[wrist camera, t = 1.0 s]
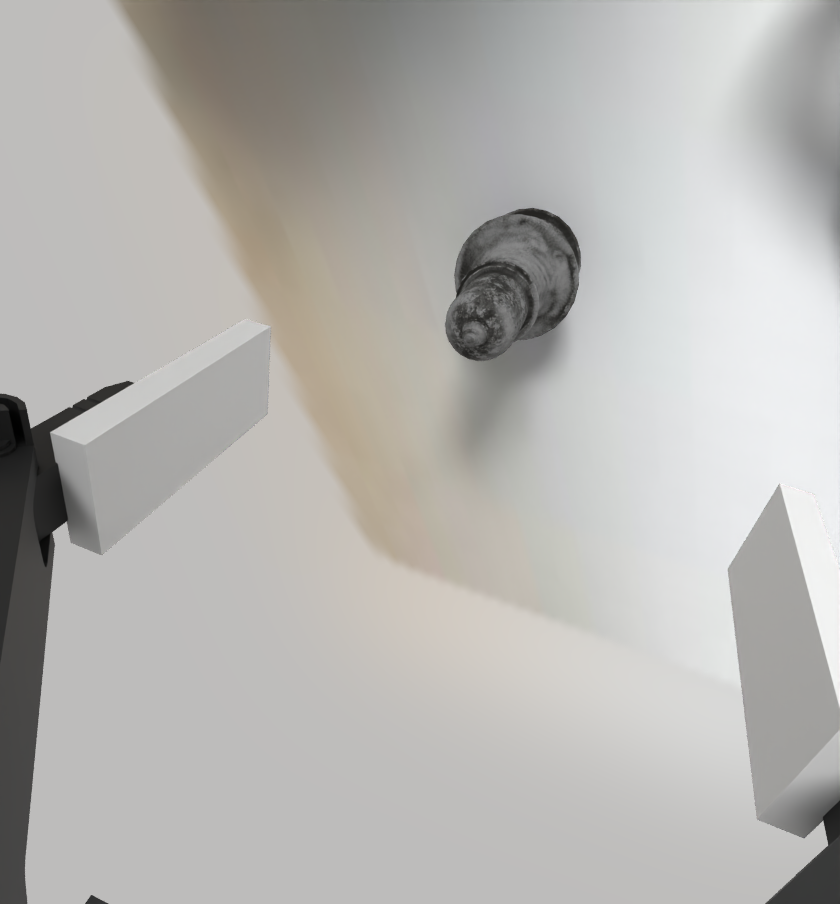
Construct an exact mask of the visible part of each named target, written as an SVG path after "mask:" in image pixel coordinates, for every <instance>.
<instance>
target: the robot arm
mask: <svg viewBox="0 0 840 904" xmlns="http://www.w3.org/2000/svg"><path fill="white" fill-rule="evenodd" d="M270 334H271V326H268V325H265V324H262V323H258V322H255V321H252V320H249V319H244V320H242V321H240V322H239V323H237V324H235V325H234V326H232V327H230V328H228V329H227V330H225V331H223V332H221V333H220V334H218V335H216V336H215V337H213V338H211V339H209V340H208V341H206V342H204V343H203V344H201V345H199V346H197V347H196V348H194V349H192V350H191V351H189V352H187V353H185V354H184V355H182V356H180V357H179V358H177V359H175V360H173V361H172V362H170V363H168V364H167V365H165V366H163V367H161V368H160V369H158V370H156V371H155V372H153V373H151V374H149V375H148V376H146V377H144V378H143V379H141V380H139V381H137V382H136V383H133V382H129V381H126V382H123V383H119V384H115V385H112V386H108V387H105V388H103V389H101V390H99V391H97V392H96V393H94V394H92V395H90V396H89V397H87V400H85V399H83V400H81V401H80V402H78V403H76V404H74V405H73V408H67V409H65V410H64V411H62V412H60V413H58V414H57V415H55V416H53V417H51V418H49V419H48V420H46V421H44V422H42V423H40V424H39V425H37V426H35V427H33V428H30V423H29V419H28V414H27V409H26V405H25V402H23V401H22V400H20V399H19V398H18V397H14V396H10V395H7V394H0V904H27V895H26V886H25V855H26V845H27V834H28V824H29V813H30V802H31V792H32V781H33V770H34V760H35V759H34V758H35V749H36V738H37V728H38V717H39V706H40V696H41V685H42V674H43V664H44V653H45V652H44V651H45V643H46V632H47V621H48V611H49V599H50V589H51V578H52V568H53V556H54V547H55V543H54V538H53V534H52V532H53V531H54V530H56V529H57V528H58V527H60V526H61V525H62V524H63V523H65V522H66V521H67V524H68V530H69V535H70V540H71V543H73V544H76V545H78V546H80V547H83V548H85V549H88V550H90V551H93V552H95V553H98V554H100V555H103V554H104V553H105V552H106V551H107V550H109V549H110V548H111V547H112V546H113V545H114V544H116V543H117V542H118V541H119V540H120V539H121V538H123V537H124V536H125V535H126V534H127V533H129V532H130V531H131V530H132V529H133V528H134V527H135V526H137V525H138V524H139V523H140V522H141V521H143V520H144V519H145V518H146V517H147V516H148V515H150V514H151V513H152V512H153V511H154V510H155V509H157V508H158V507H159V506H160V505H161V504H163V503H164V502H165V501H166V500H167V499H168V498H170V497H171V496H172V495H173V494H174V493H175V492H176V491H178V490H179V489H180V488H181V487H182V486H183V485H185V484H186V483H187V482H188V481H190V479H192V478H193V477H194V476H195V475H197V474H198V473H199V472H200V471H201V470H202V469H203V468H205V467H206V466H207V465H208V464H209V463H211V462H212V461H213V460H214V459H215V458H217V457H218V456H219V455H220V454H221V453H222V452H224V450H226V449H227V448H228V447H229V446H231V445H232V444H233V443H234V442H235V441H236V440H238V439H239V438H240V437H241V436H242V435H243V434H245V433H246V432H247V431H248V430H249V429H251V428H252V427H253V426H254V425H255V424H256V423H257V422H259V421H260V420H261V419H262V418H263V417H265V416H266V415H267V413H268V386H269V360H270ZM728 576H729V585H730V593H731V602H732V610H733V619H734V627H735V636H736V644H737V653H738V661H739V670H740V678H741V687H742V695H743V704H744V713H745V721H746V729H747V738H748V747H749V754H750V764H751V772H752V781H753V788H754V797H755V806H756V815H757V819H758V820H760V821H762V822H765V823H767V824H770V825H772V826H775V827H777V828H780V829H782V830H785V831H787V832H790V833H792V834H794V835H797V836H799V837H802V838H805V837H806V836H807V835H808V834H809V833H810V832H812V831H813V830H814V829H815V828H816V827H817V826H818V825H819V824H820V823H821V822H822V821H824V826H825V830H826V836H827V840H828V846H827V847H826V848H825V849H824V850H823V851H822V852H821V853H820V854H818V855H817V856H816V857H815V858H814V859H813V860H812V861H811V862H810V863H809V864H807V865H806V866H805V867H804V868H803V869H802V870H801V871H800V872H799V873H798V874H796V876H795V877H794V878H792V879H791V880H790V881H789V882H788V883H787V884H786V885H785V886H784V887H783V888H782V889H781V890H779V891H778V893H776V894H775V895H774V896H773V897H772V898H771V899H770V900H769V901H768V902H767V903H765V904H840V567H839V564H838V561H837V558H836V555H835V553H834V550H833V547H832V544H831V541H830V538H829V535H828V532H827V529H826V526H825V523H824V521H823V518H822V515H821V512H820V509H819V506H818V503H817V500H816V497H815V494H812V493H809V492H806V491H802V490H799V489H796V488H793V487H790V486H786V485H783V484H779V485H778V487H777V489H776V490H775V492H774V494H773V495H772V497H771V499H770V500H769V502H768V503H767V505H766V507H765V508H764V510H763V512H762V513H761V515H760V517H759V518H758V520H757V522H756V523H755V525H754V527H753V528H752V530H751V532H750V533H749V535H748V536H747V538H746V540H745V541H744V543H743V545H742V546H741V548H740V550H739V551H738V553H737V555H736V556H735V558H734V560H733V561H732V563H731V565H730V566H729V568H728ZM85 904H108V903H106V902H104V901H102V900H100V899H98V898H96V897H94V896H93V895H91V896H90V898H89V899H88V901H87V902H86V903H85Z"/></svg>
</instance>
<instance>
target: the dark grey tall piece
mask: <svg viewBox="0 0 840 904" xmlns="http://www.w3.org/2000/svg"><path fill="white" fill-rule="evenodd" d="M580 267H581V255H580V249H579V245H578V242H577V239H576V237H575V235H574V234H573V232H572V230H571V229H570V227H569V226H568V225H567V224H566V223H565V222H564V221H562V220H561V219H560V218H559V217H558V216H556V215H554V214H552V213H550V212H548V211H544V210H539V209H534V208H530V209H519V210H516V211H513V212H511V213H508V214H506V215H504V216H501V217H498V218H495V219H493V220H490V221H487V222H486V223H485V224H483V225H482V226H480V227H479V228H478V229H476V230H475V231H474V232H473V233H472V234H471V235H470V237H469V238H468V239H467V240H466V242H465V243H464V244H463V246H462V249H461V251H460V253H459V256H458V258H457V262H456V268H455V275H454V276H455V285H456V292H457V295H456V299H455V300H454V301H453V302H452V304H451V305H450V308H449V310H448V312H447V316H446V322H445V327H446V334H447V337H448V340H449V342H450V343H451V345H452V346H453V348H454V349H455V350H456V351H457V352H458V353H459V354H461V355H462V356H464V357H466V358H468V359H472V360H476V361H486V360H489V359H493V358H495V357H497V356H499V355H500V354H502V353H504V352H505V351H506V350H507V349H508V348H509V347H510V346H511V344H512V342H515V341H517V340H527V339H530V338H534V337H538V336H541V335H543V334H545V333H546V332H548V331H550V330H551V329H553V328H555V327H556V326H557V325H558V324H559V323H560V322H561V321H562V320H563V319H564V318H565V317H566V315H567V314H568V312H569V310H570V308H571V307H572V305H573V303H574V301H575V297H576V293H577V290H578V286H579V271H580Z"/></svg>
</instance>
